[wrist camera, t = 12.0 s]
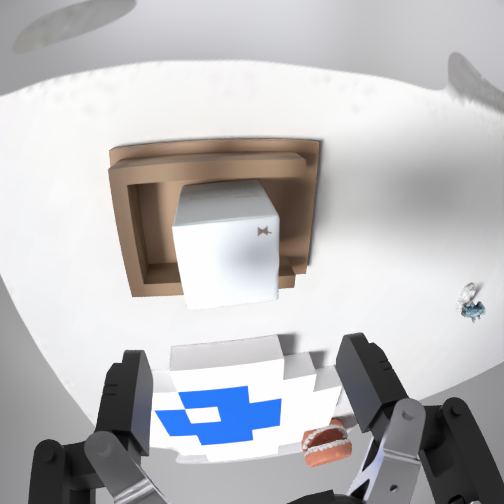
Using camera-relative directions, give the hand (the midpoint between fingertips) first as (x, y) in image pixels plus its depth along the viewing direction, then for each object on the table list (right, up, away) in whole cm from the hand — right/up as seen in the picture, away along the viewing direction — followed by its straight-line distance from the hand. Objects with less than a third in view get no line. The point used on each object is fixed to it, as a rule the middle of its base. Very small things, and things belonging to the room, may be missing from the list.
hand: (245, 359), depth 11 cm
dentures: (+13, -28, +37) cm, 48 cm away
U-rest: (-3, +8, +13) cm, 16 cm away
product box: (-2, +7, +13) cm, 15 cm away
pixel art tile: (-2, -17, +29) cm, 34 cm away
